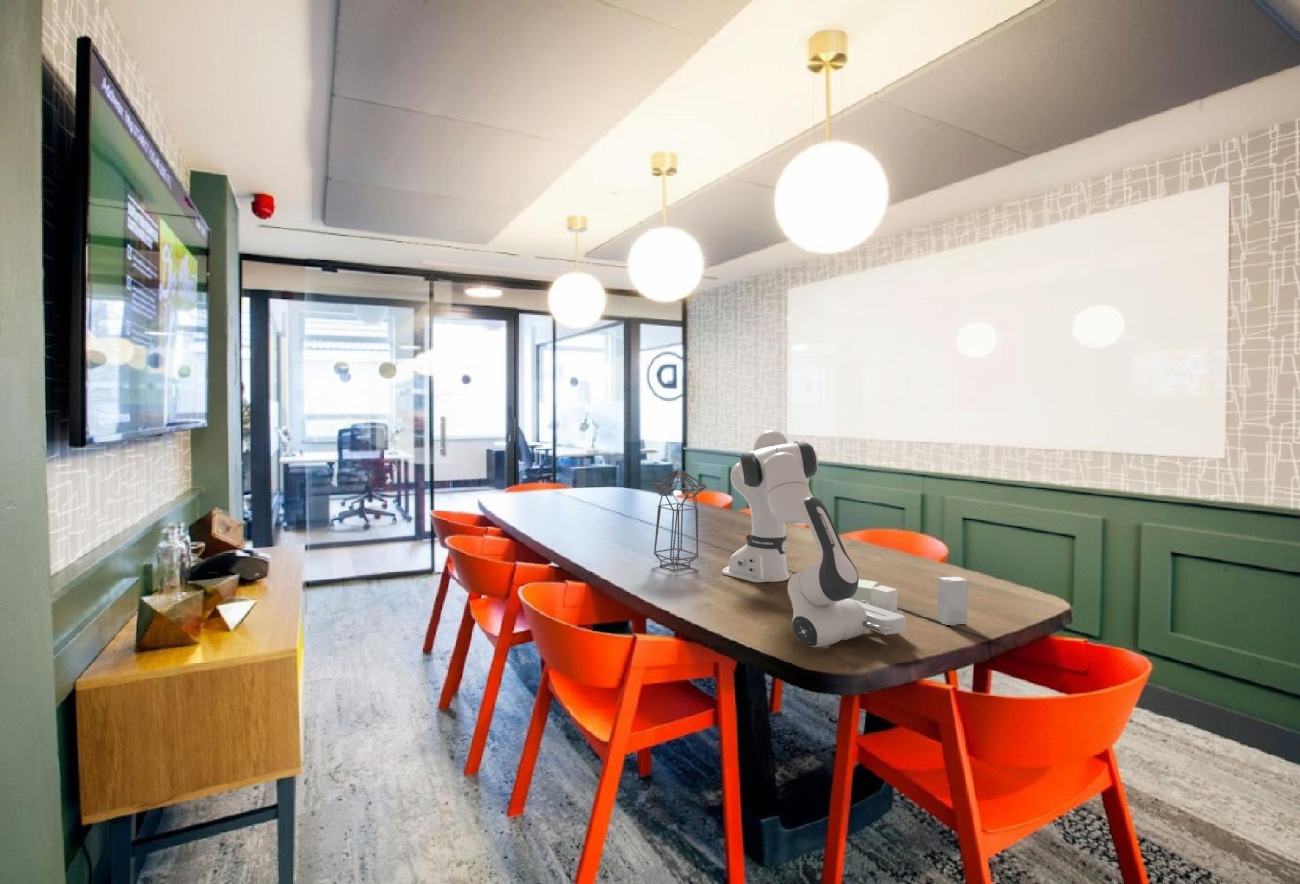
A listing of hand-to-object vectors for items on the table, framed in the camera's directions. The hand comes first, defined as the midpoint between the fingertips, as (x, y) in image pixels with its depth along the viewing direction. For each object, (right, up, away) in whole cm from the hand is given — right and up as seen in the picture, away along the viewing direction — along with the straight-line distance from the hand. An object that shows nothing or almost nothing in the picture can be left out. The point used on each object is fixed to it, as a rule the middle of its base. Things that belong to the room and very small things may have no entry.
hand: (883, 608), depth 159 cm
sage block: (0, -1, +17) cm, 17 cm away
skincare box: (+21, -6, +6) cm, 22 cm away
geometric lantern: (-50, -2, +63) cm, 80 cm away
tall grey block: (0, -6, 0) cm, 6 cm away
